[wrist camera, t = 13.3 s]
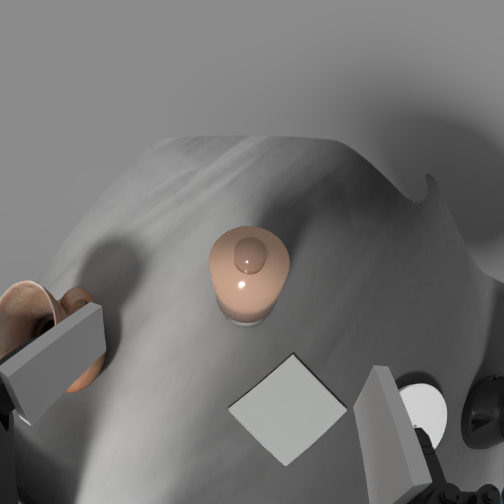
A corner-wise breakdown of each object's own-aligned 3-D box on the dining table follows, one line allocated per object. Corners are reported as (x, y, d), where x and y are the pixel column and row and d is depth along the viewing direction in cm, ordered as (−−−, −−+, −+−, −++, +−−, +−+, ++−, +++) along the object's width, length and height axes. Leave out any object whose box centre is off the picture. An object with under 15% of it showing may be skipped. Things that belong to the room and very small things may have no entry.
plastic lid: (425, 370, 37) (433, 368, 35) (445, 434, 31) (454, 434, 29) (358, 410, 34) (365, 411, 32) (382, 479, 29) (390, 482, 26)
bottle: (249, 255, 39) (254, 202, 29) (289, 297, 37) (310, 256, 26) (203, 289, 37) (190, 246, 26) (243, 336, 34) (245, 310, 23)
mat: (292, 354, 38) (292, 354, 38) (346, 409, 34) (347, 410, 34) (227, 408, 34) (227, 409, 34) (285, 465, 30) (285, 466, 30)
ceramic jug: (65, 413, 30) (7, 412, 18) (27, 341, 35) (-27, 317, 22) (140, 349, 37) (98, 328, 24) (93, 280, 41) (50, 237, 29)
